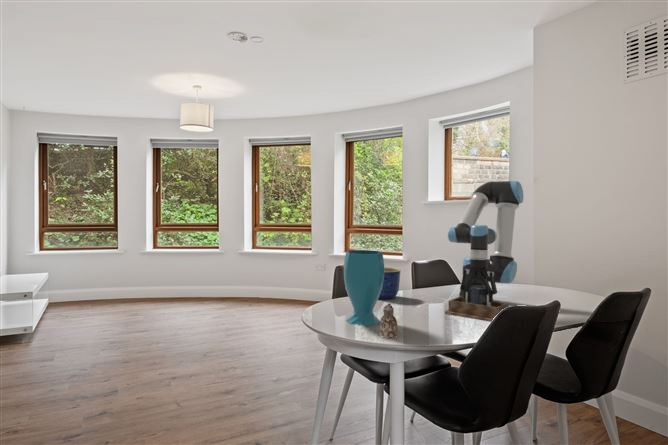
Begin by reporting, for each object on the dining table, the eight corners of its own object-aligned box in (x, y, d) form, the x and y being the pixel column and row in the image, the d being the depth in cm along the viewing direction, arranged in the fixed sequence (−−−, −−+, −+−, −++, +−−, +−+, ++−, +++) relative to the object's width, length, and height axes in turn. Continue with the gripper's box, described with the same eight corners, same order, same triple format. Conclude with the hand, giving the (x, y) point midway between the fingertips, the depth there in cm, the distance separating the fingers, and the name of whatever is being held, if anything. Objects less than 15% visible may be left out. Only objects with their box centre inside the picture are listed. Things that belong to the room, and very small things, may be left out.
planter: (405, 296, 247) (405, 269, 246) (391, 302, 233) (392, 272, 232) (377, 293, 256) (377, 266, 256) (363, 298, 242) (363, 270, 241)
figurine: (376, 337, 171) (377, 305, 170) (381, 332, 178) (382, 302, 177) (395, 339, 168) (395, 307, 168) (399, 334, 175) (399, 303, 175)
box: (488, 311, 204) (488, 288, 203) (478, 312, 202) (478, 288, 202) (477, 307, 211) (477, 285, 211) (467, 308, 209) (467, 285, 209)
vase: (372, 328, 182) (372, 255, 181) (335, 322, 191) (336, 252, 190) (389, 319, 197) (390, 251, 196) (355, 314, 206) (356, 249, 205)
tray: (444, 313, 209) (445, 300, 208) (459, 307, 221) (459, 295, 221) (498, 322, 193) (498, 309, 192) (511, 316, 205) (511, 302, 205)
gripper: (452, 257, 210) (452, 305, 211) (499, 261, 196) (498, 312, 197) (459, 256, 216) (458, 302, 217) (505, 260, 201) (504, 309, 202)
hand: (477, 307), depth 207 cm, fingers closed on box, 9 cm apart
